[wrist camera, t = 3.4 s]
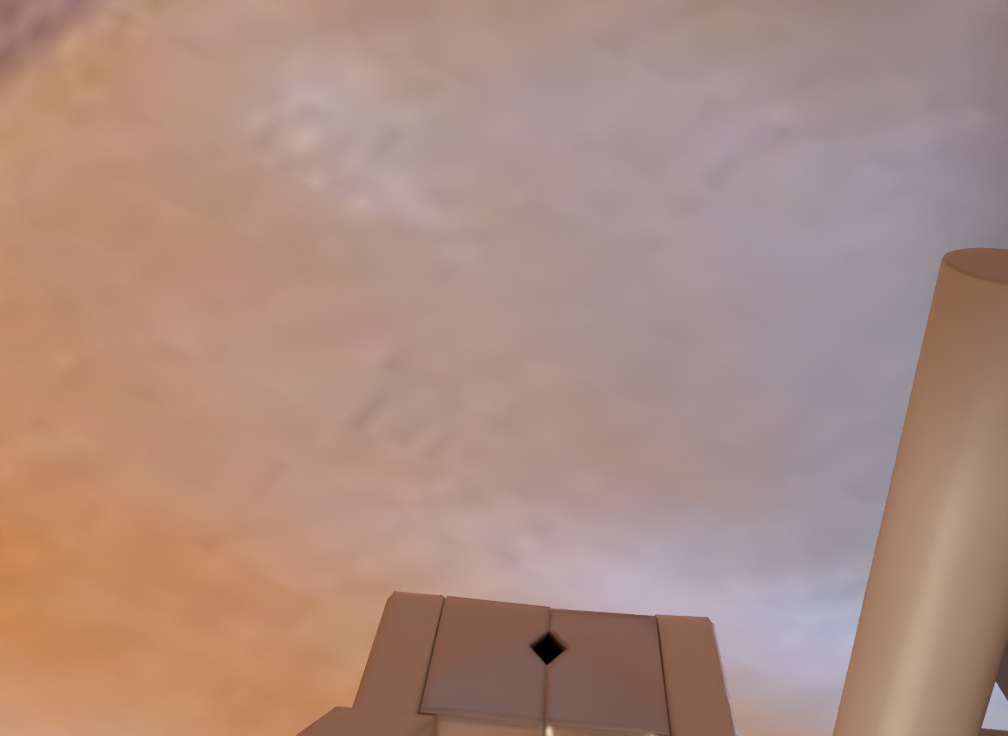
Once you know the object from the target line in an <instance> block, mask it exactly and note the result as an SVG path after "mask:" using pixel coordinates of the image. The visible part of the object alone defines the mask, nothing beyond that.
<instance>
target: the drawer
mask: <svg viewBox="0 0 1008 736" xmlns="http://www.w3.org/2000/svg"><path fill="white" fill-rule="evenodd" d="M995 681H996V682H997V684H998V686H999V687H1000V689H1001V691H1002V692H1003V694H1004V696H1005V697H1006V699H1007V701H1008V250H1007V249H994V248H970V249H961V250H955V251H951V252H948V253H947V254H945V256H944V257H943V259H942V261H941V265H940V269H939V274H938V278H937V282H936V287H935V291H934V296H933V300H932V304H931V309H930V313H929V317H928V322H927V326H926V331H925V335H924V339H923V344H922V348H921V352H920V357H919V361H918V365H917V370H916V374H915V379H914V383H913V387H912V392H911V396H910V400H909V405H908V409H907V413H906V418H905V422H904V427H903V431H902V435H901V440H900V444H899V448H898V453H897V457H896V462H895V466H894V470H893V475H892V479H891V483H890V488H889V492H888V496H887V501H886V505H885V510H884V514H883V518H882V523H881V527H880V531H879V536H878V540H877V544H876V549H875V553H874V558H873V562H872V566H871V571H870V575H869V579H868V584H867V588H866V592H865V597H864V601H863V606H862V610H861V614H860V619H859V623H858V627H857V632H856V636H855V641H854V645H853V649H852V654H851V658H850V662H849V667H848V671H847V675H846V680H845V684H844V689H843V693H842V697H841V702H840V706H839V710H838V715H837V719H836V723H835V728H834V732H833V736H1008V731H1004V730H993V729H982V728H981V726H982V723H983V720H984V717H985V713H986V710H987V707H988V703H989V700H990V697H991V694H992V690H993V687H994V684H995Z"/></svg>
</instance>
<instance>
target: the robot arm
mask: <svg viewBox="0 0 1008 736" xmlns="http://www.w3.org/2000/svg"><path fill="white" fill-rule="evenodd" d="M296 736H738V733H737V729H736V724H735V720H734V715H733V711H732V706H731V702H730V697H729V693H728V688H727V683H726V679H725V674H724V670H723V665H722V661H721V656H720V652H719V647H718V643H717V638H716V634H715V629H714V624H713V623H712V622H711V621H710V620H709V618H708V617H691V616H673V615H655V616H647V615H634V614H621V613H608V612H594V611H581V610H568V609H555V608H550V607H545V606H536V605H527V604H517V603H508V602H499V601H489V600H480V599H471V598H461V597H452V596H447V597H446V598H445V597H444V596H442V595H431V594H419V593H408V592H396V591H394V592H393V594H392V595H391V596H390V597H389V598H388V599H387V602H386V605H385V608H384V611H383V614H382V618H381V621H380V624H379V627H378V630H377V633H376V636H375V639H374V642H373V645H372V648H371V652H370V655H369V658H368V661H367V664H366V667H365V670H364V673H363V676H362V679H361V682H360V685H359V689H358V692H357V695H356V698H355V701H354V704H353V707H352V708H347V707H335V708H334V709H332V710H331V711H329V712H328V713H327V714H325V715H324V716H322V717H321V718H320V719H318V720H317V721H315V722H314V723H313V724H311V725H310V726H308V727H307V728H305V729H304V730H303V731H301V732H300V733H298V734H297V735H296Z"/></svg>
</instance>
